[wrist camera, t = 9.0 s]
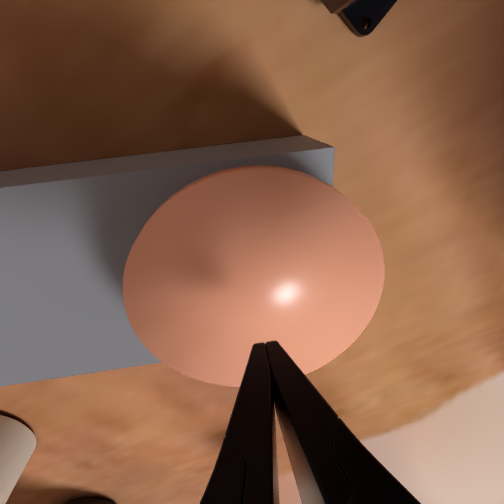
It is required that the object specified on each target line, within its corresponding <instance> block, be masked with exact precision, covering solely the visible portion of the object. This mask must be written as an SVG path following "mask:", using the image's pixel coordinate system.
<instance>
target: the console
mask: <svg viewBox="0 0 504 504" xmlns="http://www.w3.org/2000/svg"><path fill="white" fill-rule="evenodd" d="M258 165H264V166H277V167H284V168H288V169H293V170H297V171H301V172H303V173H306V174H309V175H311V176H314V177H316V178H318V179H320V180H322V181H324V182H325V183H327V184H329V185H331V186H332V187H333V168H334V147H333V146H330V145H328V144H325V143H322V142H320V141H317V140H315V139H312V138H310V137H307V136H305V135H298V136H290V137H282V138H273V139H265V140H256V141H248V142H240V143H231V144H223V145H215V146H206V147H198V148H190V149H181V150H173V151H165V152H156V153H148V154H139V155H131V156H123V157H114V158H106V159H98V160H89V161H81V162H73V163H64V164H56V165H48V166H39V167H31V168H22V169H14V170H6V171H0V386H7V385H14V384H20V383H27V382H34V381H40V380H47V379H54V378H60V377H67V376H74V375H80V374H87V373H94V372H100V371H107V370H114V369H120V368H127V367H133V366H140V365H147V364H153V363H160V362H161V361H160V360H159V359H158V358H156V357H155V356H154V355H153V354H152V353H151V352H150V351H149V350H148V349H147V348H146V347H145V346H144V345H143V344H142V342H141V341H140V339H139V338H138V337H137V335H136V334H135V332H134V330H133V328H132V326H131V324H130V322H129V320H128V317H127V313H126V310H125V307H124V300H123V275H124V270H125V265H126V261H127V258H128V256H129V253H130V250H131V248H132V246H133V244H134V242H135V241H136V239H137V237H138V235H139V234H140V232H141V230H142V229H143V227H144V225H145V224H146V222H147V221H148V220H149V218H150V217H151V216H152V215H153V213H154V212H155V211H156V210H157V208H158V207H159V206H160V205H162V204H163V203H164V202H165V201H166V200H167V199H168V198H169V197H170V196H171V195H173V194H174V193H176V192H177V191H179V190H180V189H182V188H183V187H185V186H186V185H188V184H190V183H192V182H194V181H196V180H198V179H200V178H202V177H204V176H207V175H210V174H213V173H216V172H219V171H222V170H226V169H231V168H236V167H242V166H258Z"/></svg>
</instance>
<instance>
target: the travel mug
mask: <svg viewBox="0 0 504 504" xmlns="http://www.w3.org/2000/svg"><path fill="white" fill-rule="evenodd" d="M35 447H36V438H35V435H34V434H33V433H32V431H31V430H30V429H29V428H27V427H26V426H25V425H24V424H22V423H21V422H19V421H17V420H16V419H13V418H10V417H7V416H4V415H1V414H0V504H5V503H6V501H7V500H8V498H9V496H10V494H11V492H12V490H13V488H14V487H15V485H16V483H17V481H18V479H19V477H20V475H21V473H22V472H23V470H24V468H25V466H26V464H27V462H28V460H29V458H30V457H31V455H32V453H33V451H34V449H35Z"/></svg>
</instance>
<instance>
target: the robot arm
mask: <svg viewBox="0 0 504 504" xmlns="http://www.w3.org/2000/svg"><path fill="white" fill-rule="evenodd" d="M321 1H322V3H323V4H324V5H325V6H326V8H327V9H328V10H329V11H330V13H332V14H333V13H339V15H340V16H341V17H342V18H343V20H344V21H345V22H346V24H347V25H348V26H349V27H350V29H351V30H352V31H353V32H354V34H355V35H356V36H358V37H364V36H366V35H368V34H370V33H371V32H372V31H373V30H374V29H375V27H376V26H377V25H378V24H379V22H380V21H381V20H382V19H383V17H384V16H385V15H386V14H387V12H388V11H389V10H390V9H391V7H392V6H393V5H394V4H395V2H396V1H397V0H321ZM363 18H365V19H367V22H368V23H367V27H366V29H363V28H362V26H361V21H362V19H363ZM274 405H275V408H274ZM275 410H276V414H277V417H278V421H279V424H280V428H281V431H282V435H283V438H284V442H285V445H286V449H287V452H288V456H289V459H290V463H291V466H292V470H293V473H294V476H295V480H296V484H297V487H298V490H299V494H300V498H301V501H302V504H421V503H420V502H419V501H418V500H417V499H416V498H415V497H414V496H413V495H412V494H411V493H410V492H409V491H408V490H407V489H406V488H405V487H404V486H403V485H402V484H401V483H400V482H399V481H398V480H397V479H396V478H395V477H394V476H393V475H392V474H391V473H390V472H389V471H388V470H387V469H386V468H385V467H384V466H383V465H382V464H381V463H380V462H379V461H378V460H377V459H376V458H375V457H374V456H373V455H372V454H371V453H370V452H369V451H368V450H367V449H366V448H365V447H364V446H363V444H362V443H361V442H360V441H359V440H358V439H357V438H356V436H355V435H354V434H353V433H352V432H351V431H350V429H349V428H348V427H347V426H346V425H345V423H344V422H343V421H342V420H341V418H339V417H338V415H337V414H336V412H335V411H334V410H333V409H332V408H331V406H330V405H329V404H328V403H327V401H326V400H325V399H324V398H323V396H322V395H321V394H320V393H319V392H318V390H317V389H316V388H315V387H314V385H313V384H312V383H311V382H310V381H309V379H308V378H307V377H306V376H305V374H304V373H303V372H302V371H301V369H300V368H299V367H298V366H297V365H296V363H295V362H294V361H293V360H292V358H291V357H290V356H289V355H288V353H287V352H286V351H285V350H284V349H283V347H282V346H281V345H280V344H279V342H278V341H276V340H274V341H267V342H266V343H264V342H261V343H255V344H253V346H252V349H251V352H250V356H249V359H248V362H247V365H246V369H245V372H244V375H243V378H242V382H241V385H240V388H239V391H238V395H237V398H236V401H235V404H234V408H233V411H232V414H231V417H230V421H229V424H228V427H227V430H226V434H225V437H224V440H223V443H222V446H221V449H220V452H219V455H218V458H217V461H216V464H215V467H214V470H213V472H212V475H211V477H210V480H209V482H208V485H207V487H206V490H205V492H204V495H203V497H202V499H201V502H200V504H279V485H278V464H277V444H276V424H275Z"/></svg>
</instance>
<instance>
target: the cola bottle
mask: <svg viewBox="0 0 504 504" xmlns="http://www.w3.org/2000/svg"><path fill="white" fill-rule="evenodd" d="M67 504H113V503H112V502H110V501H108V500H105V499H100V498H82V499H77V500H74V501H71V502H69V503H67Z"/></svg>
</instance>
